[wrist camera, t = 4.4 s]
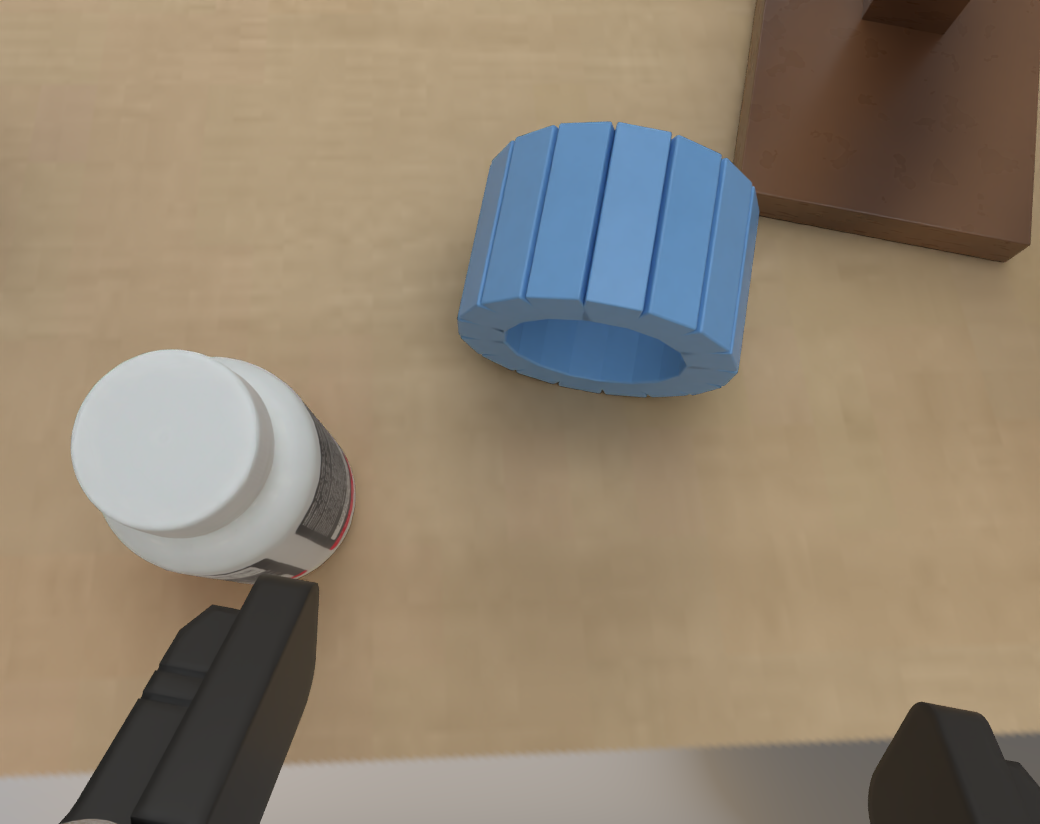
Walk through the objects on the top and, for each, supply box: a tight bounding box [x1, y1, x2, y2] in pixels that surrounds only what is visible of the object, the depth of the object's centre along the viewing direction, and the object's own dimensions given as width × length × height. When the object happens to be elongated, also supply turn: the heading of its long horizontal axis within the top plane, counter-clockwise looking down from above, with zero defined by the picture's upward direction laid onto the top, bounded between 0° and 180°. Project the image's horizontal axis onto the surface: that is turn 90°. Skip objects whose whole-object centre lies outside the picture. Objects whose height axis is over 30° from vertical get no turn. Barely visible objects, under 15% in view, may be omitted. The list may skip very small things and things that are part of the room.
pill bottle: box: [71, 349, 355, 584], centre depth 23 cm, size 5×5×10 cm
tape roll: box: [457, 122, 760, 397], centre depth 26 cm, size 8×5×8 cm, turn 79°
